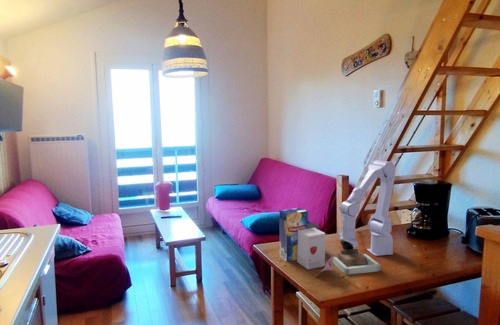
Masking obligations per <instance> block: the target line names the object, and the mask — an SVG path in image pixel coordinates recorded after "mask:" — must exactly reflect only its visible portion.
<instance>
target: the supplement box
mask: <svg viewBox="0 0 500 325" xmlns="http://www.w3.org/2000/svg"><path fill="white" fill-rule="evenodd" d="M326 236H327V235H326V233H325V232H324V231H322V230H320V229H319V230H318V229H316V228H310V229H303V230H298V250H297V260H296V261H297V263H298V264H300V265H301V266H302V267H304V268H305V269H307V270H312V269H316V268H321V267H326V266H325V265H326V263H325V264H324V262H326V260H325V259H326ZM322 263H323V264H322Z"/></svg>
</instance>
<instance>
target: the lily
mask: <svg viewBox="0 0 500 325" xmlns="http://www.w3.org/2000/svg"><path fill="white" fill-rule="evenodd" d="M334 257H335V256H331V257H330V258H329V259H328V261H325V262H324V264H325V266H324V268H323V269H321V270H320V273H321V272H323V271H331V272H333V274H334V276H335V277H336V278H338V276H337V274H336V273H335V271H334V270H333V269H332V264H333V258H334ZM322 264H323V263H322ZM316 276H317V275H315V278H316Z"/></svg>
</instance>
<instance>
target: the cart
mask: <svg viewBox="0 0 500 325" xmlns="http://www.w3.org/2000/svg"><path fill="white" fill-rule="evenodd" d="M363 254H364V253H362V252H360V251H359V249H358V248H353V249H348V250H343V249H341V250H340V252H339V253H337V256H336V257H337V258H338V259H339V260H340V261H341V262H342V263H343V264H344V265H345V266H347V267H353V266H363V265H369V264H368V261H367V257H365V256H364V255H363Z"/></svg>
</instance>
